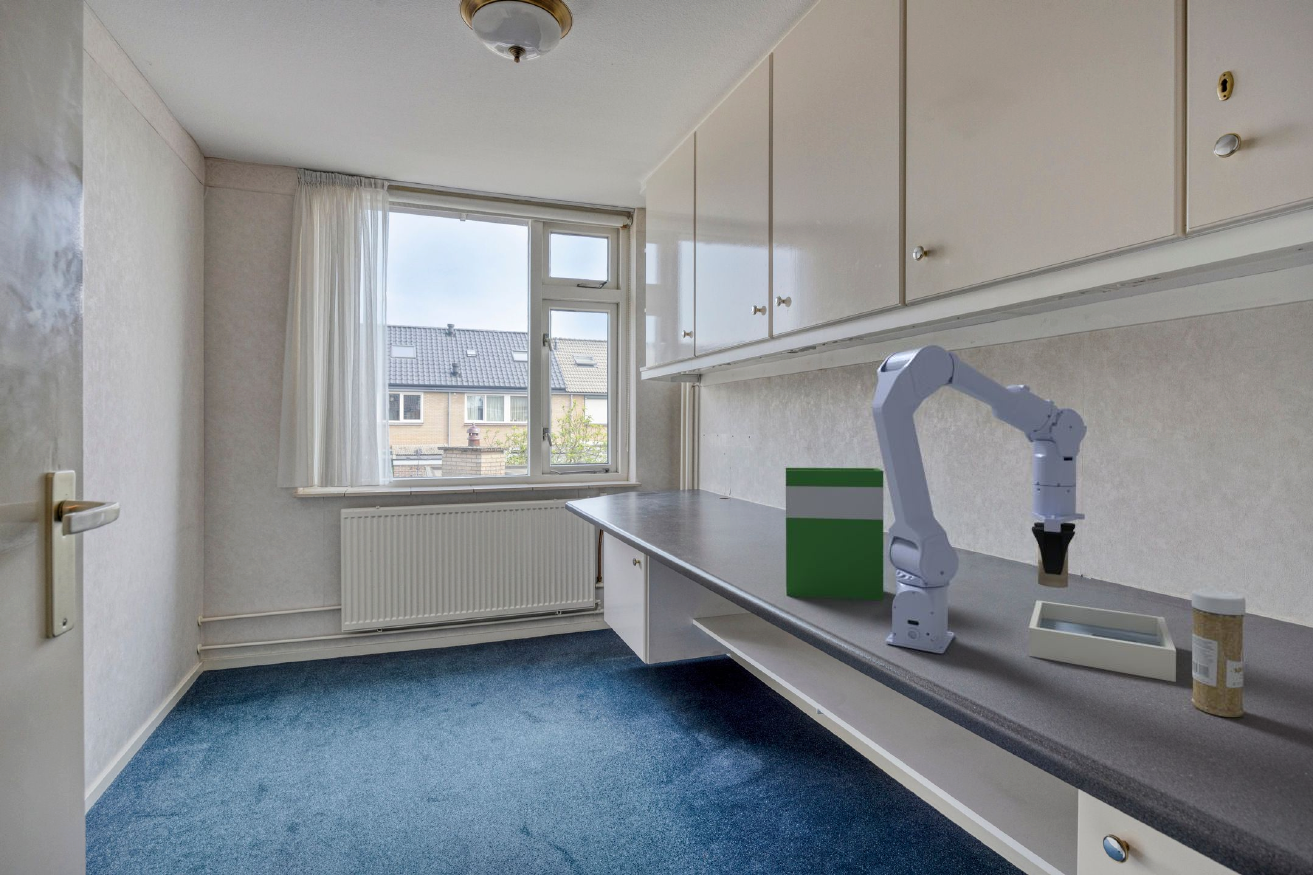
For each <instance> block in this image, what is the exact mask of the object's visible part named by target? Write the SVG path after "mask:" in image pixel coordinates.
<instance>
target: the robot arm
mask: <svg viewBox="0 0 1313 875" xmlns="http://www.w3.org/2000/svg"><path fill="white" fill-rule="evenodd" d="M876 375H877V379H878V381H877V386H876V389H875V394H874V397H873V401H872V404H871V405H872V406H871V408H872V411H871V412H872V416H873V421H874V425H875V431H876V436H877V441H878V445H879V448H880V454H881V458H882V459H881V460H882V464H883V468H884V474H885V478H886V483H887V486H888V491H889V496H890V502H891V506H892V510H893V515H894V519H895V521H894V522H893V523H892V525H890V527H889V528H888V534H889V543H888V548H887V557H888V560H889V562H890V564H891V565H892V566H893V567H894V568H895V576H896V579H895V580H896V581H895V584H896V587H895V588H896V590H895V592H896V593H895V596H894V598H893V601H892V606H891V608H892V611H891V612H892V613H891V615H892V617H891V618H892V620H891V621H892V622H891V624H892V625H891V626H892V630H891V631H892V632H891V633H890V634H889V636H887V638H886V639H885V643H886V644H887V645H892V646H899V647H902V648H904V647H905V648H910V649H915V650H920V651H924V652H930V653H935V654H944V653H945V651H946V650H947V648H948V646H949V645H950V643H951V641H952V639H953V638H954V637H955V632H953V631H948V621H949V620H948V616H949V615H948V614H949V611H948V610H949V609H948V606H949V605H948V604H949V602H948V600H949V599H948V598H949V596H948V595H949V594H948V592H949V589H948V587H950V584H951V583H950V582H951V581H952V580H953V578H954V577H955V576H956V575H957V572H958V570H959V564H960V563H959V556H958V554H957V551H956V550H955V549H954V548H953V546H952V544H951V543H950V541H949V538H948V534H947V531H946V530H945V529H944V527H943V526H942V525H941V524H940V522H939V521H938V520H937V519H936V517H935V516H934V510H933V506H932V501H931V496H930V491H929V486H928V483H927V477H926V473H925V472H926V471H925V468H924V463H923V458H922V453H921V449H920V444H919V439H918V435H917V429H916V425H915V420H914V414H915V412H916V411H917V410H918V408H919V407H920V406H921V405H922V403H923V402H924V401H925V400H926V399H927V398H929V397H930V396H932V395H933V394H934V393H936V392H937V391H939V390H940V389H942V388H943V387H949V388H951V389H952V390H953V389H954V390H955V391H958V392H960V393H962V394H964V395H967V396H968V397H971V398H973V399H975V400H977V401H979V402H981V403H984V404H986V405H989V406H990V407H991V408H990V409H991V413H992V416H994V418H996V419H998V420H1000V421H1001V422H1004V423H1006V424H1008V425H1009V426H1011V427H1014V429H1015V428H1016V429H1017V430H1019V431H1021V432H1023V433H1024V436H1025V438H1026V439H1027V440H1028V442H1029V443H1032V447H1033V448H1032V466H1033V467H1032V510H1031V511H1030V515H1031V517H1032V518H1034V519H1036V520H1038V521H1036V522H1034V523H1033V526H1032V527H1031V532H1032V535H1033V536H1034V538H1035V540H1036V543H1037V546H1038V545H1039V548H1040V552H1041V557H1042V563H1043V568H1044V571H1045V573H1046V574H1055V575H1061V573H1062V570H1063V566H1064V561H1065V556H1066V551H1067V548H1068V549H1069V545H1070V543H1071V541H1072V540H1073V538H1074V536H1075V535H1076V531H1075V529H1076V523H1072V521H1076V520H1085V518H1086V514H1084V513H1077V512H1076V511H1077V504H1076V503H1077V456H1078V455H1079V453H1080V448H1081V443H1082V441H1083V440H1084V438H1085V437H1086V433H1087V429H1088V426H1087V425H1085V423H1084V420H1083V418H1082V416H1081V415H1080V414H1079V413H1078V412H1077V411H1075V409H1072V408H1065V407H1064V408H1058V406H1057V405H1055V402H1054V401H1053V400H1052V399H1044V398H1043V397H1040V396H1038V395H1037V394H1035V393H1033V392H1031V387H1030V386H1029V385H1026V384H1019V385H1017V384H1012V385H1011V384H1010V385H1009V386H1006V387H1005V386H1003V385H1002V384H1000V383H998V382H997V381H995V380H994V379H992V378H991V377H989V376H987V375H986V374H984V373H983V372H981V371H979V370H978V369H976V368H974V367H973V366H971V365H969V364H968V363H966V362H964V361H963V360H962V359H960V357H959V356H958V354H957V353H955V352H952V351H947V350H946V349H945V348H943V347H942V346H939V345H937V344H936V345H934V344H930V345H925V346H923V347H921V348H920V347H919V348H916V349H909V350H905V351H895V352H893V353H891V354H890V355H888V356H887V357H886V359H885V360H884V361H883V362H882V363H881V365H880V366H879V367H878V369H877V370H876ZM1039 521H1040V522H1039Z"/></svg>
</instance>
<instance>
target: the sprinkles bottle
mask: <svg viewBox="0 0 1313 875" xmlns="http://www.w3.org/2000/svg"><path fill="white" fill-rule="evenodd" d="M1246 605H1247V604H1246V597H1245V596H1243V595H1241V594H1239V593H1235V592H1230V591H1227V590H1219V589H1211V588H1198V589H1194V590H1192V592H1191V606H1192V611H1193V614H1192V615H1193V620H1192V621H1193V623H1192V624H1193V625H1192V627H1193V628H1192V635H1191V636H1192V642H1191V643H1192V644H1191V645H1192V647H1191V649H1192V654H1191V658H1192V659H1191V666H1192V667H1191V670H1192V672H1191V673H1192V678H1193V679H1192V698H1191V704H1192V705H1193V706H1194V707H1196V708H1197V709H1199V710H1200V711H1203V712H1205V713H1207V714H1210V715H1216V716H1220V717H1224V718H1239V717H1242V716H1244V713H1245V711H1244V708H1243V697H1244V696H1243V694H1244V693H1243V691H1244V690H1243V687H1244V643H1243V638H1244V636H1243V635H1244V634H1243V630H1244V629H1243V628H1244V626H1243V624H1244V622H1243V621H1244V620H1243V619H1244V617H1245V614H1246V609H1247V608H1246Z"/></svg>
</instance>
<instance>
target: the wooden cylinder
mask: <svg viewBox="0 0 1313 875" xmlns="http://www.w3.org/2000/svg"><path fill="white" fill-rule="evenodd" d="M1037 547H1038V548H1037V584H1038V585H1040V586H1043V587H1048V588H1056V589H1062V588H1063V589H1064V588H1068V587H1069V547H1068V548H1067V551H1066V556H1065V561H1064V566H1063V570H1062V573H1061V575H1055V574H1046V573H1045V571H1044V568H1043V563H1042V557H1041V552H1040V548H1039V545H1038V544H1037Z"/></svg>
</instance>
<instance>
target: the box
mask: <svg viewBox="0 0 1313 875" xmlns="http://www.w3.org/2000/svg"><path fill="white" fill-rule="evenodd" d="M1028 656H1029V657H1034V658H1039V659H1045V660H1051V661H1055V662H1062V663H1068V664H1073V665H1078V666H1084V667H1091V668H1096V669H1099V670H1100V669H1101V670H1105V671H1111V672H1117V673H1123V674H1127V675H1128V674H1129V675H1135V676H1139V677H1140V676H1141V677H1145V678H1151V679H1155V680H1162V681H1167V682H1173V683H1176V680H1177V678H1176V676H1177V675H1176V674H1177V669H1176V668H1177V650H1176V647H1175V644H1174V641H1173V639H1172V636H1171V633H1170V631H1169V628H1168V625H1167V623H1166V620H1165V617H1163V616H1156V615H1148V614H1141V613H1133V612H1127V611H1118V610H1111V609H1105V608H1104V609H1103V608H1096V607H1089V606H1082V605H1075V604H1068V603H1067V604H1066V603H1060V602H1051V601H1045V600H1036V602H1035V605H1034V609H1033V612H1032V615H1031V619H1030V623H1029V626H1028Z"/></svg>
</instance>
